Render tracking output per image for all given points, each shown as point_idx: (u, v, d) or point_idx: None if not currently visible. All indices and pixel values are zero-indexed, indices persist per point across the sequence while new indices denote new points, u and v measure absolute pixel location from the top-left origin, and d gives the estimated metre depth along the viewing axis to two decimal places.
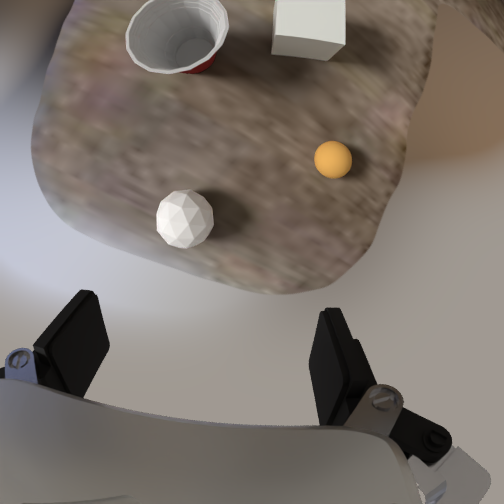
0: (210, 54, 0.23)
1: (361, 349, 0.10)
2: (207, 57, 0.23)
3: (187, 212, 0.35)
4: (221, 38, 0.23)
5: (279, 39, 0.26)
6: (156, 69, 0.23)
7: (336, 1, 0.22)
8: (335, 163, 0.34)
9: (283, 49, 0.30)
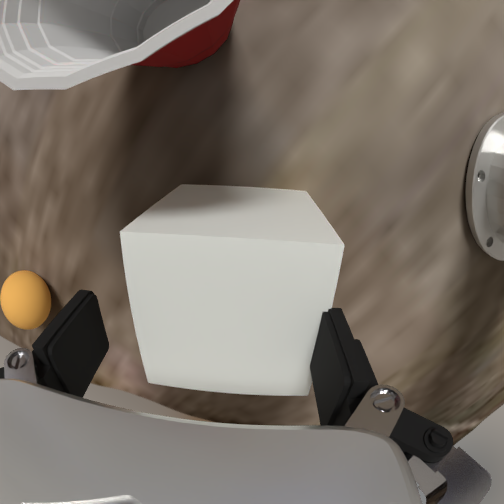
0: None
1: (362, 349, 0.10)
2: None
3: None
4: (30, 78, 0.05)
5: None
6: None
7: (273, 381, 0.12)
8: (6, 311, 0.16)
9: None
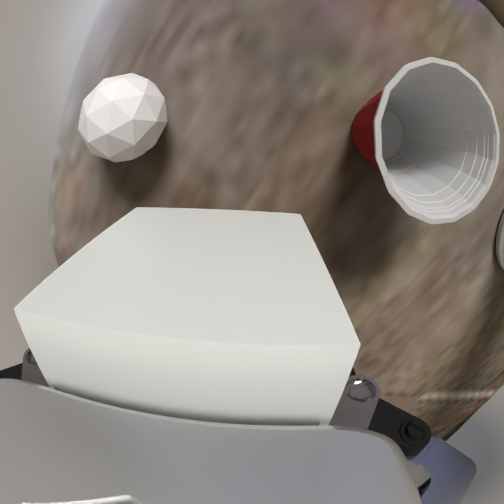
0: (395, 194, 0.15)
1: None
2: (391, 189, 0.15)
3: (125, 129, 0.18)
4: (417, 212, 0.16)
5: None
6: (386, 99, 0.13)
7: None
8: None
9: None
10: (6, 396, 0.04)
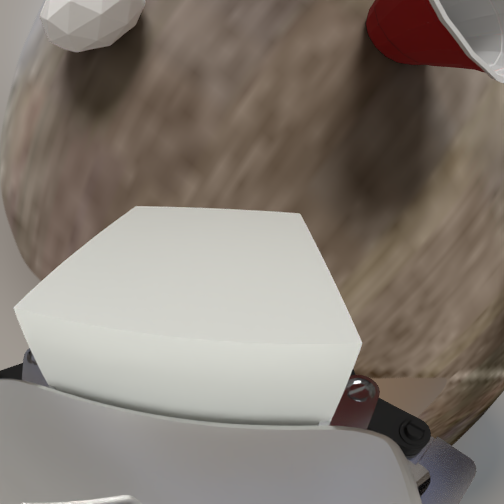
0: (452, 26, 0.07)
1: None
2: (447, 18, 0.07)
3: None
4: (480, 58, 0.08)
5: None
6: None
7: None
8: None
9: None
10: (6, 396, 0.04)
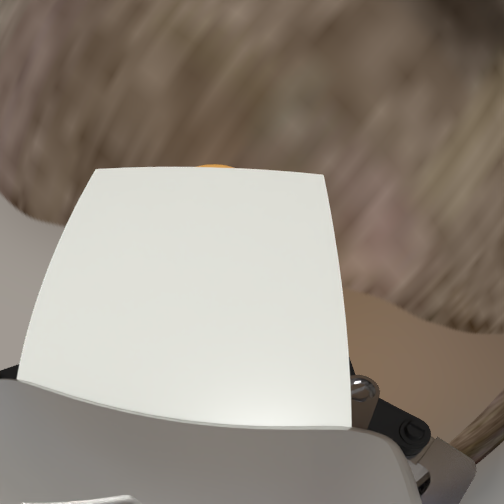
0: None
1: None
2: None
3: None
4: None
5: None
6: None
7: None
8: None
9: None
10: (6, 396, 0.04)
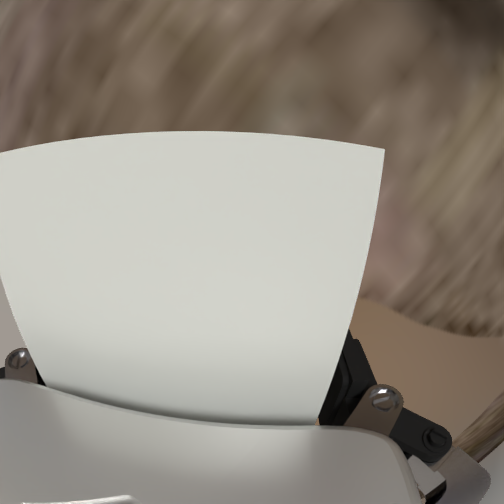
0: None
1: (361, 348, 0.10)
2: None
3: None
4: None
5: None
6: None
7: None
8: None
9: None
10: (6, 396, 0.04)
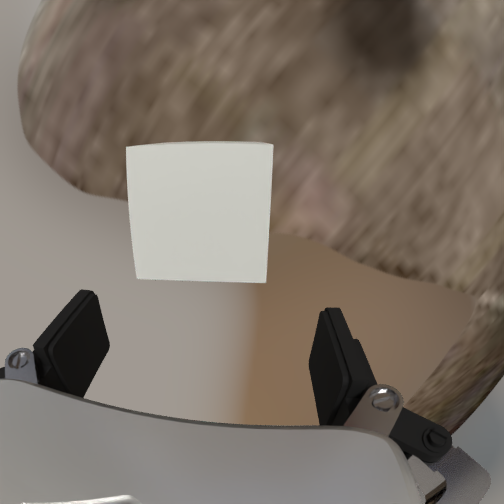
0: None
1: (361, 348, 0.10)
2: None
3: None
4: None
5: None
6: None
7: (235, 265, 0.16)
8: None
9: None
10: (6, 396, 0.04)
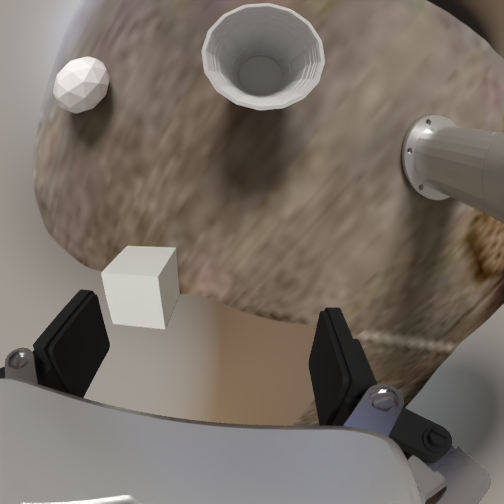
0: (222, 92, 0.22)
1: (361, 348, 0.10)
2: (218, 89, 0.22)
3: (78, 88, 0.25)
4: (244, 102, 0.23)
5: None
6: (209, 37, 0.20)
7: (151, 322, 0.35)
8: None
9: None
10: (6, 396, 0.04)
